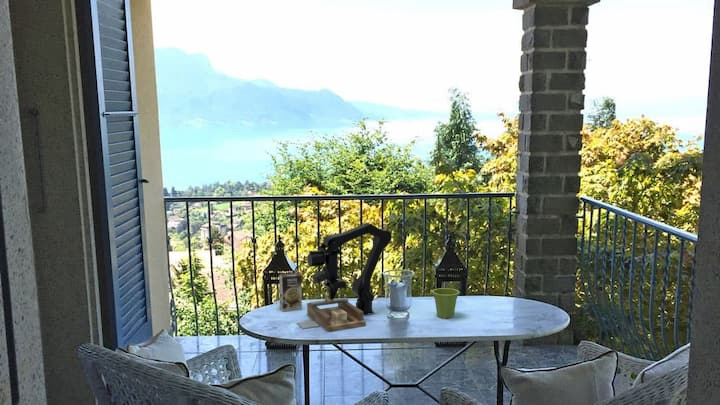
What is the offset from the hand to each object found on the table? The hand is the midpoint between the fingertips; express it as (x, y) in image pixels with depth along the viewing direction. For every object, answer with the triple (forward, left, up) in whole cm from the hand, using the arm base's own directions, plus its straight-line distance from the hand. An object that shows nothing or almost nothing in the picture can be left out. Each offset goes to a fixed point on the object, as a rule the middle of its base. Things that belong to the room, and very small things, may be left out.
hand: (331, 299), depth 258 cm
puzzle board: (0, +4, -8) cm, 9 cm away
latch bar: (0, -3, -3) cm, 4 cm away
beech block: (0, +8, -8) cm, 11 cm away
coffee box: (+12, -20, -8) cm, 25 cm away
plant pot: (-46, +20, -8) cm, 51 cm away
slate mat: (+13, +5, -8) cm, 16 cm away
